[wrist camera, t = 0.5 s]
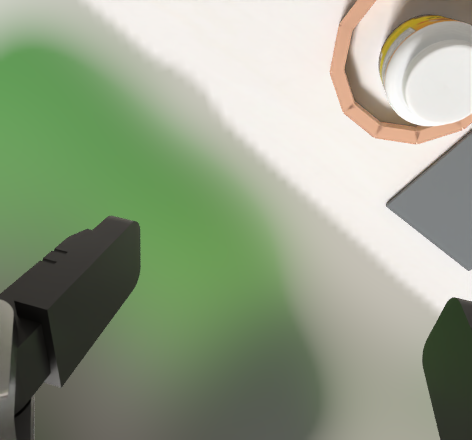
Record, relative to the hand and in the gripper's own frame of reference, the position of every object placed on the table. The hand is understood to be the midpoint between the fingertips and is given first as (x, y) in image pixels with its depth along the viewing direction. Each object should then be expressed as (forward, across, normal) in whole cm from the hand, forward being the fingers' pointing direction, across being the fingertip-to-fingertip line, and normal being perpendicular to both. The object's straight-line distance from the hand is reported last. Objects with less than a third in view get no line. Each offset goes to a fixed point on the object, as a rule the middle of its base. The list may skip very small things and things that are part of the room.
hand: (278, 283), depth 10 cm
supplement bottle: (+24, -6, -4) cm, 25 cm away
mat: (+24, -15, +6) cm, 29 cm away
